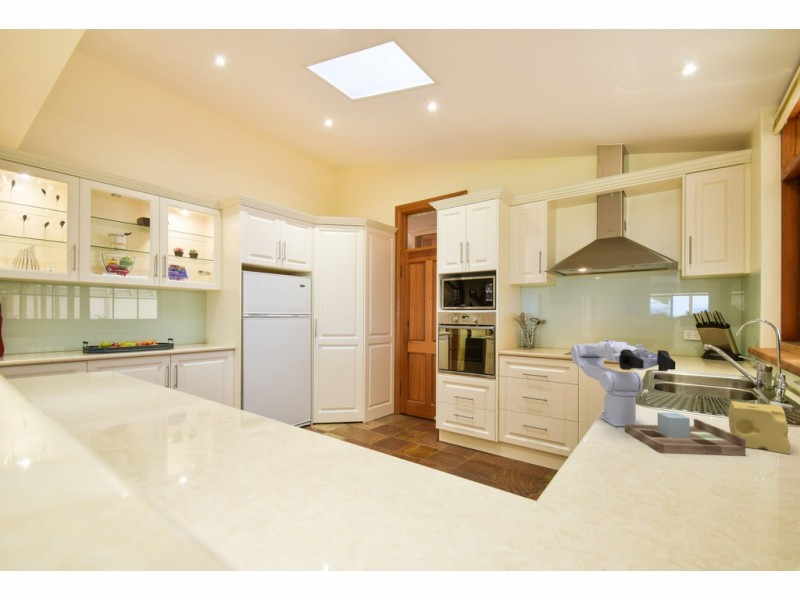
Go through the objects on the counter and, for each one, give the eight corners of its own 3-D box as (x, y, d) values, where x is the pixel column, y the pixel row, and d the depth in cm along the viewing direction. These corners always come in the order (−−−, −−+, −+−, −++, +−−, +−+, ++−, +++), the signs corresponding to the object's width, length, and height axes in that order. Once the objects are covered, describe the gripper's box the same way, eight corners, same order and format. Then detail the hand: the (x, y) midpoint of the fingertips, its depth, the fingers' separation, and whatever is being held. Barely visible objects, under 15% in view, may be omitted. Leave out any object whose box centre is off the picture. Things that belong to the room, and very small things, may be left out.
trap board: (624, 431, 111) (624, 417, 111) (696, 433, 110) (696, 419, 110) (659, 452, 94) (659, 436, 94) (745, 455, 93) (745, 438, 93)
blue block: (657, 431, 104) (657, 412, 105) (677, 432, 104) (677, 413, 104) (669, 437, 99) (668, 417, 100) (689, 438, 99) (689, 418, 99)
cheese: (790, 455, 93) (789, 413, 94) (731, 445, 100) (730, 406, 100) (782, 443, 102) (781, 405, 102) (728, 435, 108) (728, 399, 108)
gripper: (605, 341, 114) (628, 348, 100) (658, 342, 113) (688, 350, 99) (605, 365, 114) (627, 375, 101) (657, 367, 113) (687, 377, 99)
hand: (658, 364), depth 100 cm, fingers open, 7 cm apart
